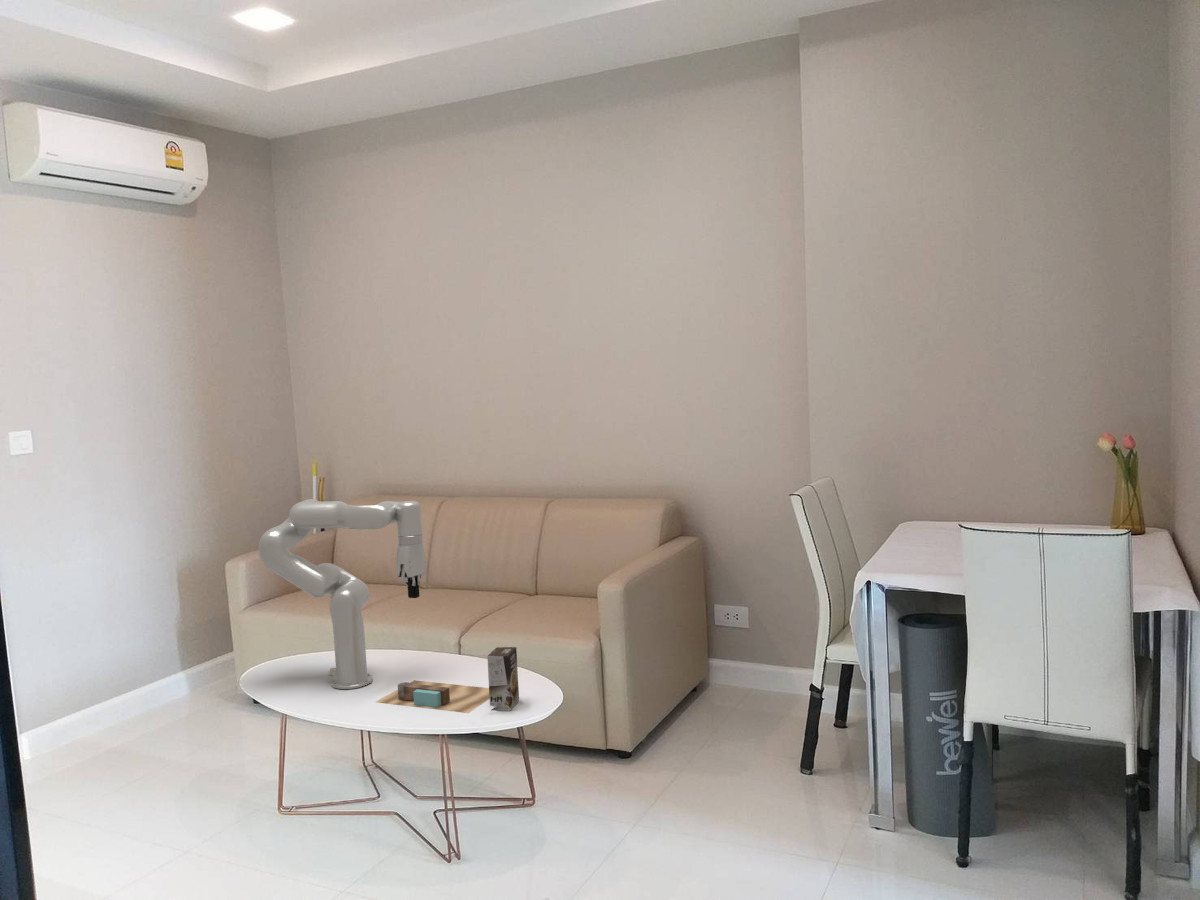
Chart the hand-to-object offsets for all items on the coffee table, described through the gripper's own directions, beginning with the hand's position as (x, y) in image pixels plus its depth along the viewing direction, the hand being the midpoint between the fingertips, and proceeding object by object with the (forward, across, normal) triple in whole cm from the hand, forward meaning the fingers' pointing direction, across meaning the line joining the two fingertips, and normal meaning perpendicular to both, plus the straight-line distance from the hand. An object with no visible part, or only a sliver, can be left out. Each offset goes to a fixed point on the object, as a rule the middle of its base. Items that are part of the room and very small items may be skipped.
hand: (413, 597), depth 286 cm
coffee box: (+27, +12, +38) cm, 48 cm away
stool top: (+27, +14, +17) cm, 35 cm away
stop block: (+26, +22, +18) cm, 38 cm away
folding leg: (+25, +19, +15) cm, 35 cm away
